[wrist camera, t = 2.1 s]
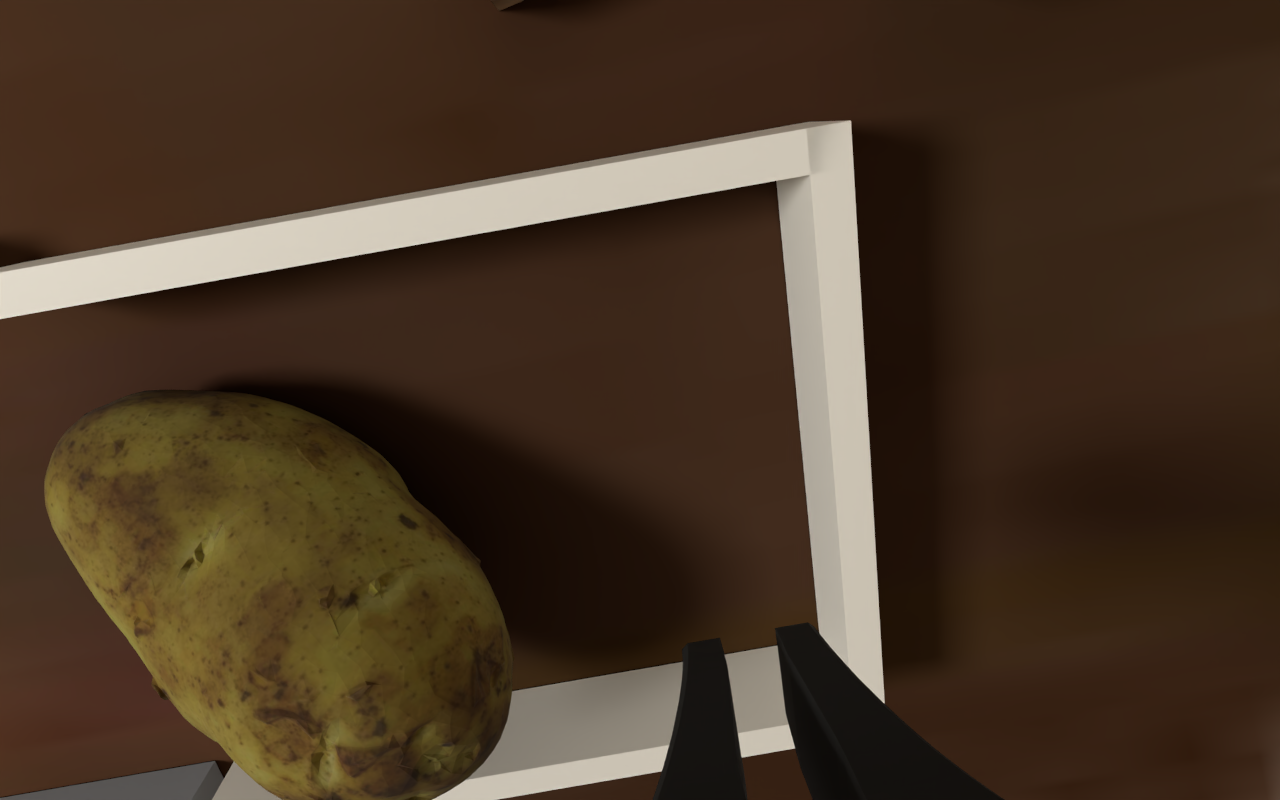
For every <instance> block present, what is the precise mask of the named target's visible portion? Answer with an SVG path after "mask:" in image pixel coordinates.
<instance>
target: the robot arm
mask: <svg viewBox="0 0 1280 800" xmlns="http://www.w3.org/2000/svg"><path fill="white" fill-rule="evenodd" d="M775 630H776V638H777V646H778V655H779V663H780V671H781V679H782V687H783V696H784V704H785V712H786V717H787V720H788V724H789V728H790V731H791V735H792V739H793V742H794V746H795V749H796V753H797V756H798V760H799V764H800V767H801V770H802V773H803V775H804V778H805V780H806V783H807V786H808V788H809V791H810V793H811V796H812V798H813V800H1004V799H1003V798H1001V797H999V796H998V795H997V794H995V793H994V792H992V791H991V790H989V789H988V788H987V787H985V786H984V785H982V784H981V783H980V782H978V781H977V780H975V779H974V778H973V777H971V776H970V775H968V774H967V773H966V772H964V771H963V770H962V769H960V768H959V767H958V766H957V765H955V764H954V763H953V762H951V761H950V760H949V759H947V758H946V757H945V756H944V755H942V754H941V753H940V752H939V751H937V750H936V749H935V748H934V747H932V746H931V745H930V744H929V743H928V742H926V741H925V740H924V739H923V738H922V737H921V736H919V735H918V734H917V733H916V732H915V731H914V730H913V729H911V728H910V727H909V726H908V725H907V724H906V723H905V722H904V721H902V720H901V719H900V718H899V717H898V716H897V715H896V714H895V713H894V712H893V711H892V710H890V709H889V708H888V707H887V706H886V705H885V704H884V703H883V702H882V701H881V700H880V699H879V698H878V697H877V696H876V695H875V694H874V693H873V692H872V691H871V690H870V689H869V688H868V687H867V686H866V685H865V684H864V683H863V682H862V681H861V680H860V679H859V678H858V677H857V676H856V675H855V674H854V673H853V672H852V671H851V669H850V668H849V667H848V666H847V665H846V664H845V663H844V662H843V661H842V660H841V658H840V657H839V656H838V655H837V654H836V653H835V652H834V650H833V649H832V648H831V647H830V646H829V645H828V643H827V642H826V641H825V640H824V639H823V637H822V636H821V635H820V634H819V632H818V631H817V630H816V628H815V627H814V626H812V625H811V624H809V623H803V624H797V625H791V626H785V627H780V628H775ZM682 654H683V671H682V682H681V689H680V696H679V703H678V708H677V713H676V717H675V722H674V727H673V732H672V736H671V740H670V744H669V748H668V751H667V755H666V758H665V762H664V766H663V769H662V773H661V776H660V779H659V782H658V786H657V789H656V792H655V795H654V797H653V800H747V792H746V784H745V776H744V770H743V763H742V757H741V750H740V744H739V738H738V731H737V725H736V718H735V712H734V705H733V699H732V692H731V686H730V679H729V673H728V666H727V662H726V658H725V654H724V651H723V647H722V644H721V640H720V638H716V639H710V640H704V641H699V642H693V643H687V645H686V646H685V647H684V648H683V649H682Z"/></svg>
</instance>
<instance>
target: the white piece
mask: <svg viewBox="0 0 1280 800" xmlns="http://www.w3.org/2000/svg"><path fill="white" fill-rule="evenodd" d="M772 181H776V183H777V193H778V204H779V214H780V225H781V235H782V246H783V256H784V267H785V278H786V288H787V299H788V309H789V320H790V330H791V341H792V351H793V362H794V372H795V383H796V393H797V404H798V414H799V425H800V435H801V446H802V456H803V467H804V477H805V488H806V498H807V509H808V519H809V530H810V541H811V551H812V562H813V572H814V583H815V593H816V604H817V614H818V625H819V634H820V635H821V636H822V637H823V639H824V640H825V641H826V642H827V643H828V645H829V646H830V647H831V648H832V649H833V650H834V652H835V653H836V654H837V655H838V656H839V657H840V658H841V660H842V661H843V662H844V663H845V664H846V665H847V666H848V667H849V668H850V669H851V671H852V672H853V673H854V674H855V675H856V676H857V677H858V678H859V679H860V680H861V681H862V682H863V683H864V684H865V685H866V686H867V687H868V688H869V689H870V690H871V691H872V692H873V693H874V694H875V695H876V696H877V697H878V698H879V699H880V700H881V701H882V702H883V703H884V704H885V702H884V685H883V668H882V650H881V633H880V616H879V598H878V581H877V564H876V546H875V529H874V511H873V494H872V477H871V459H870V442H869V425H868V407H867V390H866V373H865V355H864V338H863V321H862V303H861V286H860V269H859V251H858V234H857V217H856V199H855V182H854V165H853V147H852V130H851V121H822V122H805V123H800V124H794V125H788V126H783V127H777V128H772V129H766V130H760V131H755V132H749V133H744V134H738V135H732V136H727V137H721V138H716V139H710V140H704V141H699V142H693V143H688V144H682V145H676V146H671V147H665V148H660V149H654V150H649V151H643V152H637V153H632V154H626V155H621V156H615V157H609V158H604V159H598V160H593V161H587V162H581V163H576V164H570V165H565V166H559V167H553V168H548V169H542V170H537V171H531V172H525V173H520V174H514V175H509V176H503V177H497V178H492V179H486V180H481V181H475V182H469V183H464V184H458V185H453V186H447V187H441V188H436V189H430V190H425V191H419V192H413V193H408V194H402V195H397V196H391V197H385V198H380V199H374V200H369V201H363V202H358V203H352V204H346V205H341V206H335V207H330V208H324V209H318V210H313V211H307V212H302V213H296V214H290V215H285V216H279V217H274V218H268V219H262V220H257V221H251V222H246V223H240V224H234V225H229V226H223V227H218V228H212V229H206V230H201V231H195V232H190V233H184V234H178V235H173V236H167V237H162V238H156V239H150V240H145V241H139V242H134V243H128V244H122V245H117V246H111V247H106V248H100V249H94V250H89V251H83V252H78V253H72V254H66V255H61V256H55V257H50V258H44V259H39V260H33V261H27V262H22V263H18V264H13V265H9V266H5V267H0V319H3V318H9V317H14V316H20V315H26V314H31V313H37V312H42V311H48V310H54V309H59V308H65V307H70V306H76V305H82V304H87V303H93V302H99V301H104V300H110V299H115V298H121V297H127V296H132V295H138V294H143V293H149V292H155V291H160V290H166V289H172V288H177V287H183V286H188V285H194V284H200V283H205V282H211V281H216V280H222V279H228V278H233V277H239V276H245V275H250V274H256V273H261V272H267V271H273V270H278V269H284V268H289V267H295V266H301V265H306V264H312V263H318V262H323V261H329V260H334V259H340V258H346V257H351V256H357V255H362V254H368V253H374V252H379V251H385V250H391V249H396V248H402V247H407V246H413V245H419V244H424V243H430V242H435V241H441V240H447V239H452V238H458V237H464V236H469V235H475V234H480V233H486V232H492V231H497V230H503V229H508V228H514V227H520V226H525V225H531V224H537V223H542V222H548V221H553V220H559V219H565V218H570V217H576V216H581V215H587V214H593V213H598V212H604V211H610V210H615V209H621V208H626V207H632V206H638V205H643V204H649V203H654V202H660V201H666V200H671V199H677V198H683V197H688V196H694V195H699V194H705V193H711V192H716V191H722V190H727V189H733V188H739V187H744V186H750V185H756V184H761V183H767V182H772ZM725 658H726V662H727V666H728V673H729V679H730V686H731V692H732V699H733V705H734V712H735V718H736V725H737V731H738V738H739V744H740V750H741V757H747V756H753V755H759V754H765V753H771V752H777V751H782V750H788V749H794V748H795V746H794V742H793V739H792V735H791V731H790V728H789V724H788V720H787V717H786V712H785V704H784V696H783V687H782V679H781V671H780V663H779V655H778V646H771V647H766V648H760V649H754V650H748V651H742V652H737V653H731V654H725ZM682 671H683V662H679V663H673V664H667V665H661V666H656V667H650V668H644V669H638V670H633V671H627V672H621V673H615V674H609V675H604V676H598V677H592V678H586V679H580V680H575V681H569V682H563V683H557V684H552V685H546V686H540V687H534V688H528V689H523V690H517V691H512V697H511V703H510V709H509V715H508V720H507V723H506V725H505V728H504V731H503V733H502V736H501V739H500V740H499V742H498V744H497V745H496V747H495V749H494V750H493V752H492V753H491V754H490V756H489V757H488V758H487V760H486V761H485V762H484V764H482V765H481V766H480V767H479V768H478V769H477V770H476V771H475V772H474V773H473V774H472V775H471V776H470V777H469V778H468V779H466V780H465V781H463V782H462V783H461V784H459V785H458V786H456V787H454V788H453V789H451V790H450V791H448V792H446V793H444V794H442V795H440V796H438V797H437V798H435V799H433V800H497V799H503V798H509V797H514V796H520V795H526V794H532V793H538V792H544V791H549V790H555V789H561V788H567V787H573V786H579V785H584V784H590V783H596V782H602V781H608V780H613V779H619V778H625V777H631V776H637V775H643V774H648V773H654V772H660V771H662V769H663V766H664V762H665V758H666V755H667V751H668V748H669V744H670V740H671V736H672V732H673V727H674V722H675V717H676V713H677V708H678V703H679V696H680V689H681V682H682ZM212 800H282V799H280V798H278V797H277V796H275V795H273V794H272V793H270V792H268V791H267V790H265V789H264V788H263V787H261V786H260V785H259V784H257V783H256V782H255V781H254V780H253V779H252V778H251V777H250V776H249V775H247V774H246V773H245V772H244V771H243V770H242V769H241V768H240V767H239V766H238V765H237V764H236V763H235V762H233V764H232V766H231V767H230V769H229V771H228V773H227V774H226V776H225V778H224V779H223V781H222V783H221V785H220V786H219V788H218V790H217V792H216V793H215V795H214V797H213V799H212Z"/></svg>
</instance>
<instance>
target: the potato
mask: <svg viewBox="0 0 1280 800" xmlns="http://www.w3.org/2000/svg"><path fill="white" fill-rule="evenodd" d="M44 490H45V504H46V508H47V511H48V515H49V518H50V521H51V524H52V527H53V529H54V531H55V533H56V535H57V537H58V539H59V540H60V542H61V544H62V546H63V547H64V549H65V551H66V552H67V554H68V556H69V557H70V559H71V561H72V562H73V564H74V565H75V567H76V569H77V570H78V572H79V573H80V575H81V576H82V578H83V580H84V581H85V583H86V584H87V586H88V587H89V589H90V590H91V592H92V593H93V595H94V596H95V598H96V599H97V601H98V602H99V603H100V604H101V605H102V607H103V608H104V610H105V611H106V613H107V614H108V615H109V617H110V618H111V619H112V620H113V621H114V623H115V624H116V625H117V626H118V628H119V629H120V630H121V631H122V633H123V634H124V635H125V636H126V637H127V639H128V641H129V642H130V644H131V645H132V646H133V648H134V649H135V650H136V652H137V653H138V655H139V656H140V658H141V659H142V661H143V662H144V664H145V665H146V666H147V668H148V670H149V671H150V673H151V674H152V676H153V680H152V683H151V684H152V687H153V689H154V690H156V691H157V692H158V694H159V695H160V697H161V698H162V699H164V700H167V699H169V700H170V701H171V702H172V703H173V704H174V705H175V707H176V708H177V709H178V711H179V712H180V713H181V715H182V716H183V717H184V718H185V719H186V720H187V721H188V722H190V723H191V724H192V725H193V726H194V727H196V728H197V729H198V730H200V731H201V732H202V733H204V734H205V735H206V736H208V737H209V738H211V739H213V740H214V741H216V742H218V743H219V744H220V745H221V747H222V748H223V749H224V750H225V751H226V753H227V754H228V755H229V756H230V758H231V759H232V760H233V761H234V762H235V763H236V764H237V765H238V766H239V767H240V768H241V769H242V770H243V771H244V772H245V773H246V774H247V775H249V776H250V777H251V778H252V779H253V780H254V781H255V782H256V783H257V784H259V785H260V786H261V787H263V788H264V789H265V790H267V791H268V792H270V793H272V794H273V795H275V796H277V797H278V798H280V799H282V800H433V799H435V798H437V797H438V796H440V795H442V794H444V793H446V792H448V791H450V790H451V789H453V788H454V787H456V786H458V785H459V784H461V783H462V782H463V781H465V780H466V779H468V778H469V777H470V776H471V775H472V774H473V773H474V772H475V771H476V770H477V769H478V768H479V767H480V766H481V765H482V764H484V762H485V761H486V760H487V758H488V757H489V756H490V754H491V753H492V752H493V750H494V749H495V747H496V745H497V744H498V742H499V740H500V739H501V736H502V733H503V731H504V728H505V725H506V723H507V720H508V715H509V709H510V703H511V697H512V670H513V661H514V654H513V650H512V646H511V642H510V634H509V632H508V630H507V628H506V625H505V621H504V617H503V614H502V611H501V609H500V606H499V603H498V601H497V599H496V597H495V595H494V593H493V590H492V588H491V586H490V584H489V582H488V580H487V578H486V576H485V575H484V573H483V571H482V569H481V567H480V563H481V561H480V560H479V559H478V558H477V557H476V556H475V555H474V554H473V553H472V552H471V551H470V550H469V549H468V547H467V546H466V545H465V544H464V543H463V542H462V541H461V540H460V539H459V538H458V537H457V536H455V535H454V534H453V533H452V532H451V531H450V530H449V529H448V528H447V527H446V526H445V525H444V524H443V523H442V522H441V521H440V520H439V519H438V518H437V517H436V516H435V515H433V514H432V513H431V512H430V511H429V510H427V509H426V508H425V507H424V506H423V505H421V504H420V503H419V502H418V501H416V500H415V499H414V498H413V497H412V495H411V494H410V493H409V491H408V488H407V486H406V485H405V483H404V481H403V480H402V478H401V476H400V475H399V473H398V472H397V471H396V470H395V469H394V468H393V467H392V465H391V464H390V463H389V462H388V461H387V460H386V459H385V458H384V457H383V456H382V455H381V454H379V453H378V452H377V451H375V450H374V449H373V448H371V447H370V446H368V445H367V444H365V443H364V442H362V441H361V440H359V439H358V438H356V437H355V436H353V435H351V434H350V433H348V432H346V431H345V430H343V429H341V428H340V427H338V426H336V425H334V424H333V423H331V422H329V421H327V420H325V419H323V418H321V417H319V416H317V415H314V414H312V413H310V412H307V411H305V410H302V409H300V408H298V407H295V406H292V405H289V404H287V403H283V402H279V401H276V400H272V399H268V398H265V397H260V396H255V395H251V394H246V393H235V392H221V391H194V390H151V391H143V392H139V393H135V394H131V395H128V396H125V397H123V398H120V399H118V400H116V401H114V402H112V403H110V404H107V405H104V406H102V407H99V408H97V409H94V410H92V411H91V412H89V413H86V414H85V415H84V416H83V417H82V418H80V419H79V420H78V421H77V422H76V423H75V424H73V425H72V426H71V427H70V428H69V429H68V430H67V431H66V432H65V433H64V435H63V436H62V437H61V439H60V440H59V441H58V443H57V445H56V447H55V449H54V451H53V454H52V457H51V459H50V462H49V465H48V468H47V472H46V476H45V480H44Z"/></svg>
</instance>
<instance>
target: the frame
mask: <svg viewBox="0 0 1280 800" xmlns="http://www.w3.org/2000/svg"><path fill="white" fill-rule="evenodd" d="M223 779H224V778H223V776H222V774H221V772H220V770H219V768H218V766H217V764H216V762H215V761H212V762H206V763H200V764H194V765H189V766H183V767H177V768H171V769H165V770H160V771H154V772H148V773H142V774H136V775H131V776H125V777H119V778H113V779H107V780H102V781H96V782H90V783H84V784H78V785H73V786H67V787H61V788H55V789H50V790H44V791H38V792H32V793H26V794H21V795H15V796H9V797H3V798H0V800H212V799H213V797H214V795H215V793H216V792H217V790H218V788H219V786H220V785H221V783H222V781H223Z"/></svg>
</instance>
